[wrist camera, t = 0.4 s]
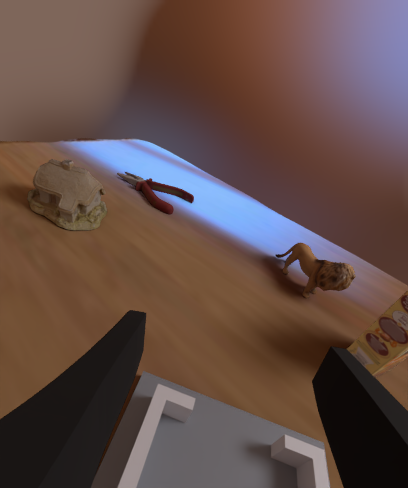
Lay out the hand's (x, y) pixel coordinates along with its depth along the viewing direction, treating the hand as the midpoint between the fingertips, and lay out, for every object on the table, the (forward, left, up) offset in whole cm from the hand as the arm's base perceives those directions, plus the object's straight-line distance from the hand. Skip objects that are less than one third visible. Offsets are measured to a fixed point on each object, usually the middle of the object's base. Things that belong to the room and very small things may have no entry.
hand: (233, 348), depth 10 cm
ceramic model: (+30, +31, -20) cm, 47 cm away
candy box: (+20, -24, -20) cm, 37 cm away
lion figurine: (+34, -16, -20) cm, 43 cm away
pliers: (+50, +21, -20) cm, 58 cm away
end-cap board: (+1, -5, -20) cm, 20 cm away
